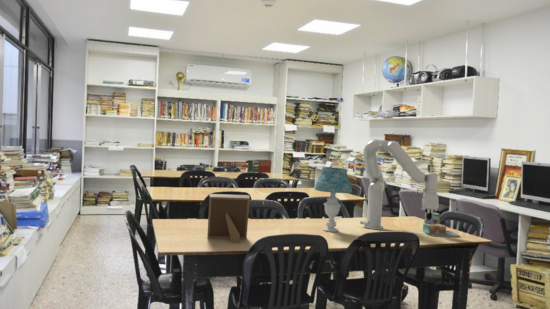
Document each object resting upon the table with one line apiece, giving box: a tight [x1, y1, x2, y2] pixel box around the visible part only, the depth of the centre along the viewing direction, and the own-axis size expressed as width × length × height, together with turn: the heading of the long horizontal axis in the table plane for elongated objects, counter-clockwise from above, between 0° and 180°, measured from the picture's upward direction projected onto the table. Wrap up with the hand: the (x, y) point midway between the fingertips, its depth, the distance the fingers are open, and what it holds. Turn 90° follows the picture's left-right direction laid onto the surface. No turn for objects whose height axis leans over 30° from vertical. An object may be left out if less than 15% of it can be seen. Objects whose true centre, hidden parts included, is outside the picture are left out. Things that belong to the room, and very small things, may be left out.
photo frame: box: [207, 193, 251, 244], centre depth 257 cm, size 15×22×25 cm
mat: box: [422, 230, 461, 238], centre depth 307 cm, size 18×16×1 cm
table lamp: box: [314, 166, 353, 233], centre depth 298 cm, size 24×24×40 cm
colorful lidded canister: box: [423, 211, 441, 224], centre depth 321 cm, size 9×9×15 cm
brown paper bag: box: [422, 223, 447, 235], centre depth 306 cm, size 5×8×12 cm
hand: (428, 219), depth 305 cm, fingers closed
